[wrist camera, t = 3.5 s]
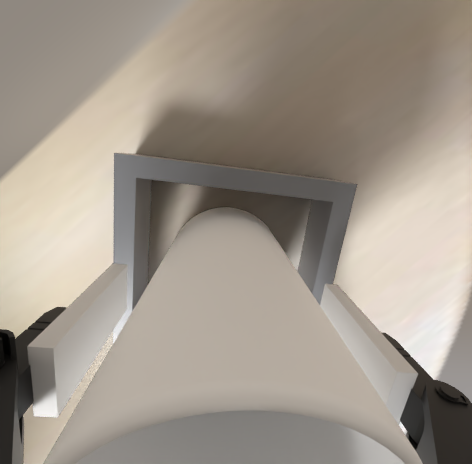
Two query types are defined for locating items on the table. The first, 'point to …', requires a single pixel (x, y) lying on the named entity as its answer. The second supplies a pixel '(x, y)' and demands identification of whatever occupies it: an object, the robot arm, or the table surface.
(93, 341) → the robot arm
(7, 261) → the table surface
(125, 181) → the grey shallow rectangular tray
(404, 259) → the table surface
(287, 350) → the cup
